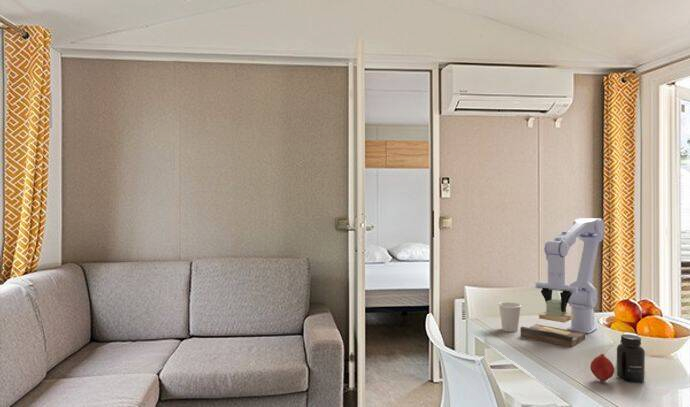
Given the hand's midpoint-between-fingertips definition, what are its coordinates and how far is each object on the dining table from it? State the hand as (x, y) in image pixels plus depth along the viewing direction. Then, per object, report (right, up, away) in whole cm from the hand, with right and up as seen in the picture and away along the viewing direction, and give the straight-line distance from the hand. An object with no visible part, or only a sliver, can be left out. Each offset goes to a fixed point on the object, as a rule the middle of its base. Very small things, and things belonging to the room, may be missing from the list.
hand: (556, 310), depth 169 cm
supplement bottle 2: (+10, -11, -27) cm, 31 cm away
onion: (-6, -11, -40) cm, 42 cm away
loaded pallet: (0, -3, 0) cm, 3 cm away
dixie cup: (-13, -11, +12) cm, 20 cm away
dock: (-1, -10, +1) cm, 10 cm away
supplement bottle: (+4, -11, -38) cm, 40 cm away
